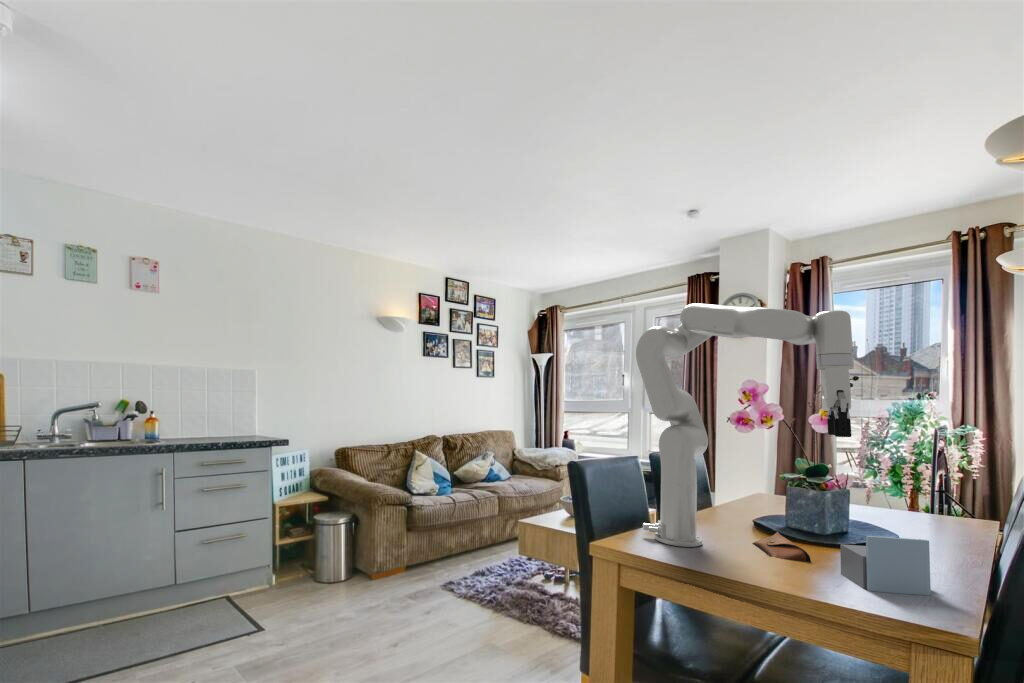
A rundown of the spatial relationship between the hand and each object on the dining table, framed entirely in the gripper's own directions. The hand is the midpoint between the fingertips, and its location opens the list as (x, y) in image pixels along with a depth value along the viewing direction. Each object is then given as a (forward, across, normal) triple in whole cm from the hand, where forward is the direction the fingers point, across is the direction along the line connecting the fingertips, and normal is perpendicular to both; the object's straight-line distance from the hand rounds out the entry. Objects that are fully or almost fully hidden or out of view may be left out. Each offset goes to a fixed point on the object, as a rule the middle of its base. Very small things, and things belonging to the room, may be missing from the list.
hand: (839, 435), depth 123 cm
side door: (+32, +7, +8) cm, 33 cm away
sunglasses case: (+32, -14, -13) cm, 37 cm away
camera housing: (+32, +2, +6) cm, 33 cm away
